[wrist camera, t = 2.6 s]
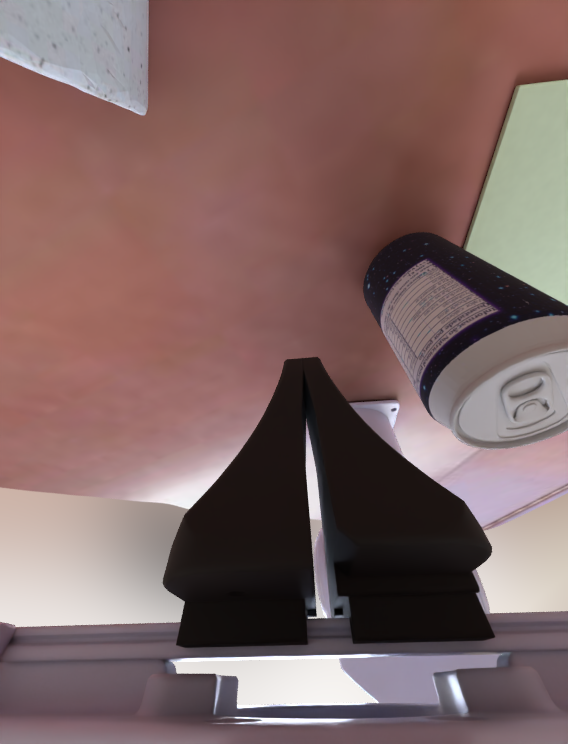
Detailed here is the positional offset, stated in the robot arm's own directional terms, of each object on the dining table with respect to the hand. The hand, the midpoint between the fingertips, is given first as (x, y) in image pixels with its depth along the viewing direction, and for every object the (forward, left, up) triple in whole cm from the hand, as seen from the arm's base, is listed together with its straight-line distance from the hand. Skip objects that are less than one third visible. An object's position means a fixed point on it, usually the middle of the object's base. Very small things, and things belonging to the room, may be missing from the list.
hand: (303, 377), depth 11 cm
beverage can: (0, -7, -10) cm, 12 cm away
